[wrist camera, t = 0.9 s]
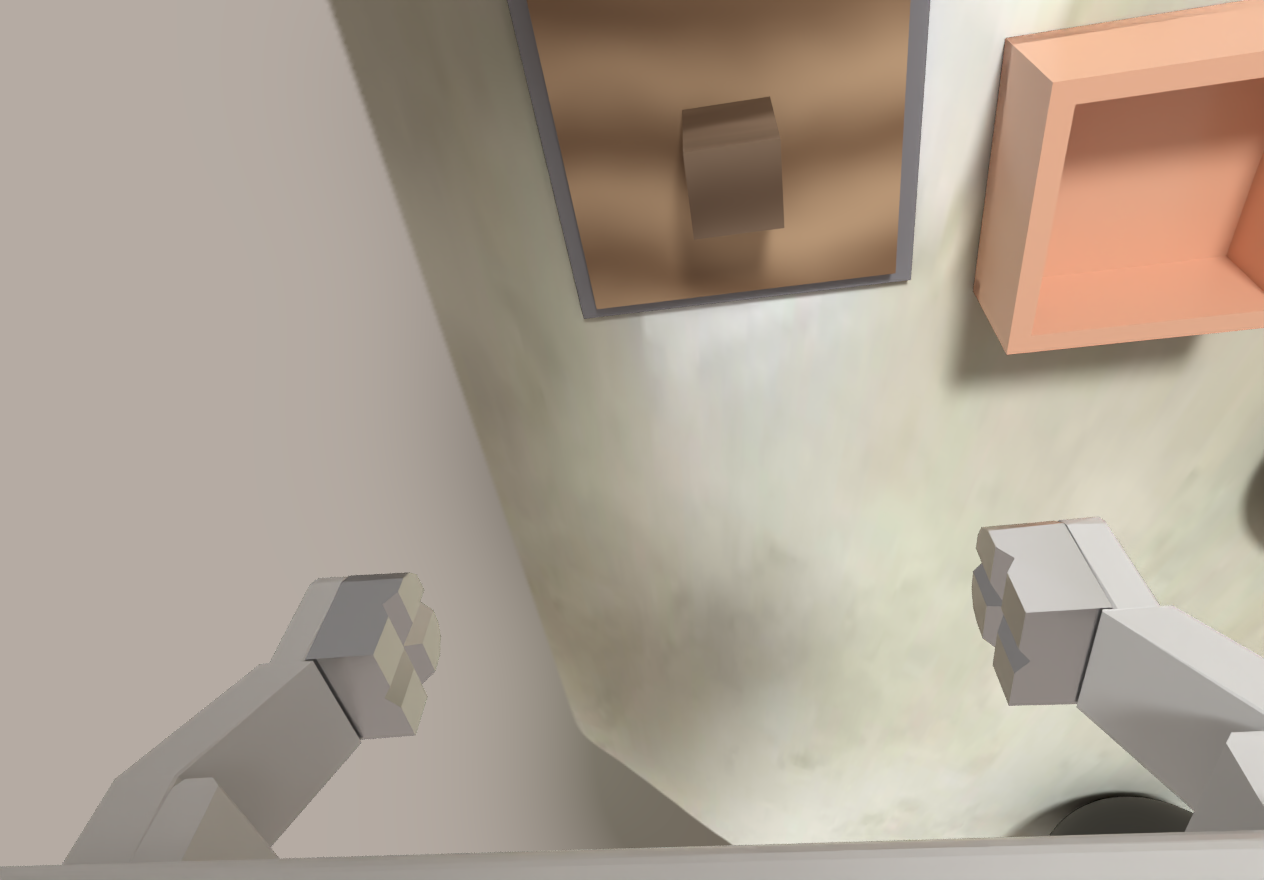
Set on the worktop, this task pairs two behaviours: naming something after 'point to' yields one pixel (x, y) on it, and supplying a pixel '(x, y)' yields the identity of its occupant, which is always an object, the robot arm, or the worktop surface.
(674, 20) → the walnut cover
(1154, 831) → the bowl of black rocks
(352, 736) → the robot arm
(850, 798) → the worktop surface
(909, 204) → the rubber mat
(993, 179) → the terracotta basin
